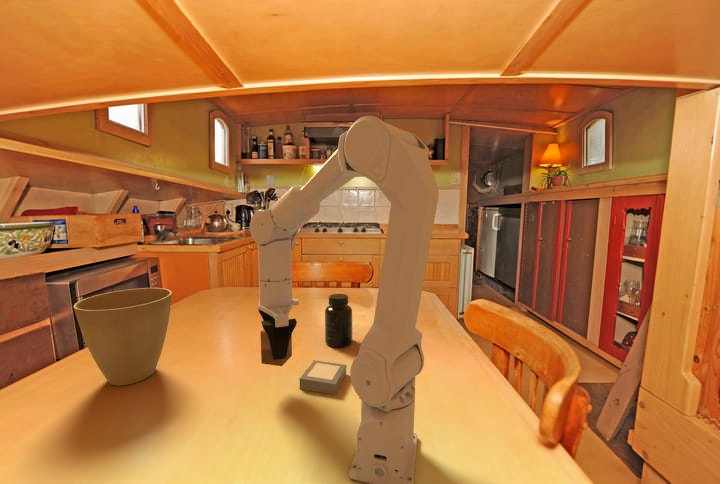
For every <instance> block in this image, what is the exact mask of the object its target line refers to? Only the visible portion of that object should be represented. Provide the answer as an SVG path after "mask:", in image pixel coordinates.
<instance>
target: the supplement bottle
mask: <svg viewBox="0 0 720 484" xmlns="http://www.w3.org/2000/svg"><path fill="white" fill-rule="evenodd" d="M324 337H325V338H324V339H325V344H326V345H327V346H329V347H331V348H334V349H335V348H336V349H340V348H346V347H349V346H350V345H351V344H352V342H353V308H352V307H351V305H349V295H347V294H345V293H333V294H330V295H328V306H326V307H325V310H324Z"/></svg>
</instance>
